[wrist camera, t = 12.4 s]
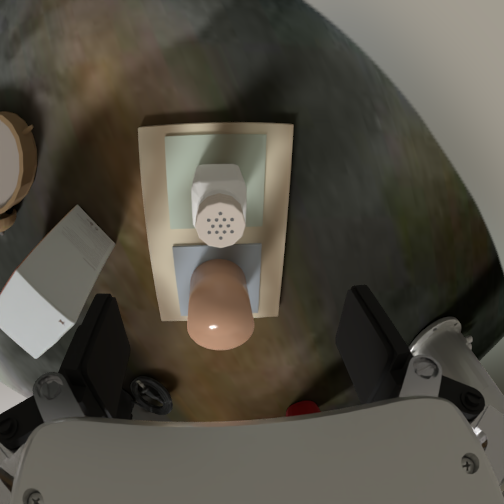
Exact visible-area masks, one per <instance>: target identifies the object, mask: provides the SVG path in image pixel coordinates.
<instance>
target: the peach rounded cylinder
mask: <svg viewBox="0 0 504 504" xmlns="http://www.w3.org/2000/svg"><path fill="white" fill-rule="evenodd" d="M187 329H188V333H189V335H190V337H191V338H192V339H193V340H194V341H195V342H196V343H197V344H199V345H201V346H203V347H205V348H208V349H213V350H227V349H232V348H235V347H237V346H239V345H241V344H243V343H244V342H246V341H247V340H248V339H249V338H250V336H251V335H252V333H253V330H254V319H253V314H252V309H251V304H250V298H249V293H248V288H247V283H246V278H245V274H244V272H243V270H242V269H241V268H240V267H239V266H238V265H237V264H235V263H233V262H231V261H229V260H225V259H212V260H208V261H206V262H203V263H202V264H200V265H199V266H198V267H197V268H196V269H195V270H194V271H193V273H192V276H191V280H190V291H189V305H188V320H187Z"/></svg>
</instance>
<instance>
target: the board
mask: <svg viewBox="0 0 504 504" xmlns="http://www.w3.org/2000/svg"><path fill="white" fill-rule="evenodd" d="M293 127H294V125H293V124H287V123H263V122H205V123H181V124H165V125H152V126H141V127H139V128H138V142H139V159H140V172H141V184H142V194H143V204H144V213H145V221H146V229H147V237H148V244H149V251H150V258H151V264H152V271H153V277H154V283H155V288H156V294H157V299H158V305H159V310H160V315H161V320H162V321H187V320H188V305H189V291H190V280H191V276H192V273H193V271H194V270H195V269H196V268H197V267H198V266H199V265H200V264H202V263H203V262H206V261H208V260H212V259H225V260H229V261H231V262H233V263H235V264H237V265H238V266H239V267H240V268H241V269H242V270H243V272H244V274H245V278H246V283H247V288H248V293H249V298H250V304H251V309H252V314H253V318H258V317H273V316H278V310H279V300H280V291H281V281H282V270H283V260H284V249H285V237H286V226H287V214H288V201H289V188H290V174H291V159H292V144H293ZM202 164H235V165H238V166H239V168H240V171H241V174H242V176H243V179H244V182H245V184H246V187H247V207H246V226H245V230H244V233H243V236H242V237H241V238H240V239H239V240H238V241H237V242H236V243H235V244H234V245H231V246H227V247H223V248H218V247H213V246H208V245H207V244H206V243H205V242H204V241H202V240H201V239H200V238H199V236H198V233H197V231H196V228H195V227H194V225H193V219H192V199H191V187H192V183H193V178H194V174H195V170H196V168H197V166H199V165H202Z"/></svg>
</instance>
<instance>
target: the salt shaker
mask: <svg viewBox="0 0 504 504" xmlns="http://www.w3.org/2000/svg"><path fill="white" fill-rule="evenodd" d="M191 199H192V219H193V225H194V227H195V228H196V231H197V233H198V236H199V238H200V239H201V240H202V241H204V242H205V243H206V244H207V245H208V246H213V247H218V248H223V247H227V246H231V245H234V244H235V243H236V242H237V241H238V240H239V239H240V238H241V237H242V236H243V233H244V230H245V226H246V207H247V187H246V184H245V182H244V179H243V176H242V174H241V171H240V168H239V166H238V165H235V164H202V165H199V166H197V168H196V170H195V174H194V178H193V183H192V187H191Z"/></svg>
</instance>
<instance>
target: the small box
mask: <svg viewBox="0 0 504 504" xmlns="http://www.w3.org/2000/svg"><path fill="white" fill-rule="evenodd" d="M114 246H115V243H114V242H113V241H112V240H111V239H110V238H109V237H108V236H107V235H106V234H105V232H103V231H102V229H101V228H100V227H99V226H98V225H97V224H96V223H95V222H94V221H93V220H92V219H91V218H90V217H89V216H88V215H87V214H86V213H85V212H84V211H83V210H82V208H81V207H80V206H79V205H76V206H75V207H74V208H73V209H71V210H70V211H69V212H68V213H67V214H66V215H65V216H64V217H63V218H62V219H61V221H60V222H59V223H58V224H57V225H56V226H55V227H54V228H53V229H52V230H51V231H50V232H49V233H48V234H47V235H46V236H45V237H44V238H43V239H42V240H41V241H40V242H39V243H38V245H37V246H36V247H35V248H34V249H33V250H32V251H31V252H30V253H29V255H28V256H27V257H26V258H25V259H24V260H23V261H22V262H21V264H20V265H19V266H18V267H17V268H16V269H15V271H14V272H13V274H12V275H11V277H10V278H9V280H8V281H7V283H6V284H5V286H4V288H3V289H2V291H1V293H0V328H1V329H2V330H3V331H4V332H5V333H6V334H7V335H8V336H9V337H10V338H11V339H13V340H14V341H15V342H16V343H17V344H18V345H19V346H21V347H22V348H23V349H24V350H25V351H26V352H28V353H29V354H30V355H31V356H32V357H34V358H35V359H37V358H38V357H40V356H41V355H42V354H43V353H44V352H45V351H46V350H48V349H49V348H50V347H51V346H53V345H54V344H55V343H56V342H57V341H58V340H59V339H60V338H61V337H62V336H63V335H64V334H65V333H66V332H67V331H68V330H69V329H70V328H71V327H72V326H73V325H74V324H75V323H76V321H77V318H78V316H79V314H80V312H81V310H82V308H83V306H84V304H85V301H86V299H87V297H88V295H89V293H90V291H91V289H92V287H93V285H94V283H95V281H96V279H97V277H98V275H99V273H100V271H101V269H102V267H103V266H104V264H105V262H106V260H107V258H108V257H109V255H110V253H111V251H112V250H113V248H114Z"/></svg>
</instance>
